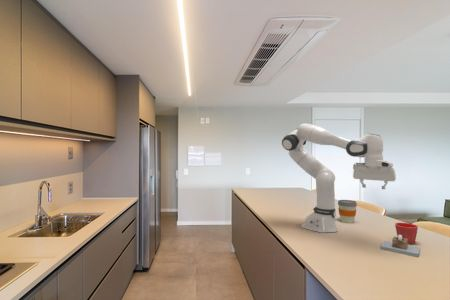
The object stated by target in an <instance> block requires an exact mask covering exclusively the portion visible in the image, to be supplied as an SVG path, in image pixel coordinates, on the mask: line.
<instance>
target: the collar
mask: <svg viewBox="0 0 450 300" xmlns="http://www.w3.org/2000/svg"><path fill="white" fill-rule="evenodd" d="M391 242H392V247H395V248H400V249H405V250H406V249H407V247H408V245H409V244H408V239H405V238H402V240H398V237H397V236H393V238H392V239H391Z"/></svg>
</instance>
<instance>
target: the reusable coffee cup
mask: <svg viewBox="0 0 450 300" xmlns="http://www.w3.org/2000/svg"><path fill="white" fill-rule="evenodd" d="M357 204H358V203H357V201H355V200H350V199H339V200H338V202H337V205H338V214H339V219H340V222H342V223H344V224H354V223H355V217H356V215H357V214H356V213H357Z"/></svg>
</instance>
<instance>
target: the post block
mask: <svg viewBox="0 0 450 300" xmlns="http://www.w3.org/2000/svg"><path fill="white" fill-rule="evenodd" d="M398 240H402V235H398ZM379 247H380V250H384V251H388V252H391V253H392V252H393V253H398V254H402V255H406V256H411V257H416V258H419V256H420V251H421V246H414V245H411V244H408V247H407V249H406V250H405V249H400V248H395V247H392V241H390V240H383V242H382V243H381V244H380V245H379Z"/></svg>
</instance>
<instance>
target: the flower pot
mask: <svg viewBox="0 0 450 300" xmlns="http://www.w3.org/2000/svg"><path fill="white" fill-rule="evenodd" d="M394 226H395V230H396V237H398V235H402V238H405V239H408V245H414V244H415V243H416V240H417V239H416V238H417V234H418V229H419V227H418V225H416V224H413V223H408V222H395V224H394Z"/></svg>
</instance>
